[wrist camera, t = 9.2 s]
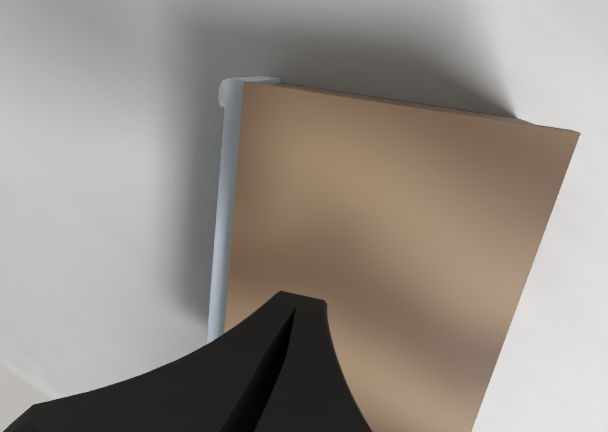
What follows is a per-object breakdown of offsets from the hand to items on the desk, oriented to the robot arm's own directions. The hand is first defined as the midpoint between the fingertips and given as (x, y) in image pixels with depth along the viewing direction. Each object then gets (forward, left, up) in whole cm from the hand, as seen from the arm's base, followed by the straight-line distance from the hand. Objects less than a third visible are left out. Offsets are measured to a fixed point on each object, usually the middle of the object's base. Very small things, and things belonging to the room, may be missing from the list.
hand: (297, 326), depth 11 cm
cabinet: (-1, -2, -9) cm, 10 cm away
